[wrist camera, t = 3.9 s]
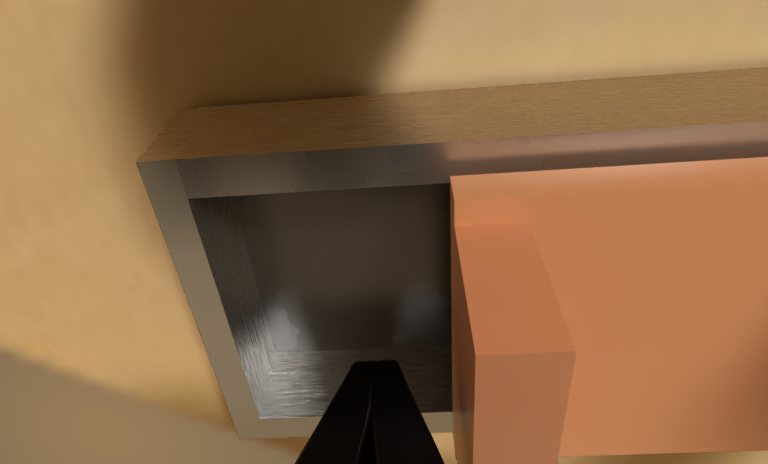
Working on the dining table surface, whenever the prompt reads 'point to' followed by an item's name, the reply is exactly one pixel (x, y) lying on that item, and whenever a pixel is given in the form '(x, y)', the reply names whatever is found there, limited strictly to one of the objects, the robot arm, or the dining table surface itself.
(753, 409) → the salmon l-shaped block
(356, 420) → the robot arm
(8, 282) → the dining table surface
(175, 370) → the dining table surface
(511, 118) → the grey rectangular box
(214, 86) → the dining table surface
